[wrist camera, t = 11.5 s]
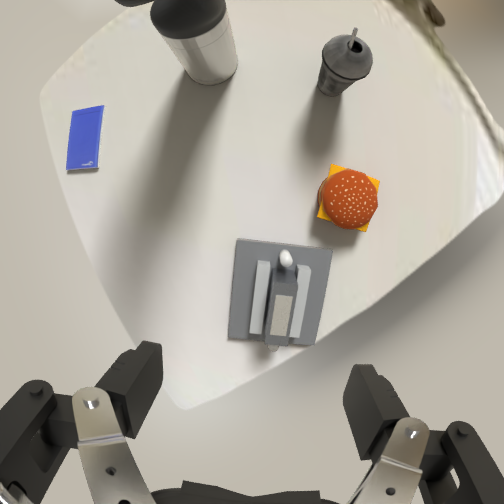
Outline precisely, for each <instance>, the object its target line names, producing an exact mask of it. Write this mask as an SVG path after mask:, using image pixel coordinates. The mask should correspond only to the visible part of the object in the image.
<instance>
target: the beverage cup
mask: <svg viewBox="0 0 504 504" xmlns="http://www.w3.org/2000/svg"><path fill="white" fill-rule="evenodd" d="M357 31H358V28H356V27H355V28H354V30H353V33H352V35H339V36H336V37H334V38H332V39H331V40H330V41H329V42H328V43H327V44H325V46H324V48H323V50H322V65H321V69H320V73H319V77H318V87H319V89H320V90H321V92H323V93H324V94H326V95H328V96H336V95H339V94H340V93H342V92H343V91H344V90H345V89H347V88H348V87H349V86H350V85H352V84H353V83H354V82H355V81H357V80H360V79H363V78H365V77H366V76H367V75H368V74H369V72H370V70H371V66H372V64H373V57H372V53H371V50H370V48H369V47H368V45H367V44H366V43H365V42H364V41H362V40H361V39H359V38H358V37H356V34H357Z"/></svg>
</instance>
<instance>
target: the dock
mask: <svg viewBox="0 0 504 504" xmlns="http://www.w3.org/2000/svg"><path fill="white" fill-rule="evenodd" d="M332 252H333V251H332V250H331V249H326V248H318V247H310V246H301V245H292V244H284V243H275V242H266V241H258V240H249V239H240V238H238V239H237V245H236V256H235V266H234V277H233V287H232V299H231V310H230V321H229V333H228V337H231V338H239V339H248V340H257V341H265V316H266V309H267V302H268V295H269V288H270V281H271V274H272V268H281V269H289V270H293V271H294V274H295V277H296V279H297V282H298V291H297V297H296V303H295V309H294V314H293V320H292V325H291V330H290V336H289V341H288V343H289V344H302V345H314V344H315V340H316V336H317V331H318V327H319V322H320V317H321V312H322V307H323V302H324V297H325V292H326V287H327V281H328V276H329V270H330V265H331V259H332ZM268 349H269V350H270V351H277V350H278V349H279V345H268Z"/></svg>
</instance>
